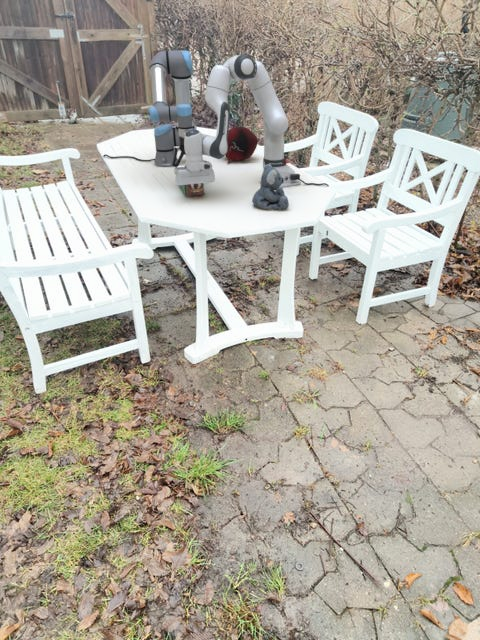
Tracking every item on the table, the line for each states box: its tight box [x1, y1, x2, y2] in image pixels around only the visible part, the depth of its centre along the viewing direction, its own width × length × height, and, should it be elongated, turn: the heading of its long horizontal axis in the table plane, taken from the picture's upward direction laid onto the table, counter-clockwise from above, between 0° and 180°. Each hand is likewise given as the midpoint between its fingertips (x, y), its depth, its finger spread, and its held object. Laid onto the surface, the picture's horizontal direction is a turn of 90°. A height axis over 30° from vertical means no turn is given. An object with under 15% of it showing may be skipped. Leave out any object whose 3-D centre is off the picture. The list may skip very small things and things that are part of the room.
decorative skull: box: [224, 126, 259, 165], centre depth 296 cm, size 21×24×25 cm
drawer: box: [186, 183, 205, 197], centre depth 243 cm, size 24×9×8 cm, turn 15°
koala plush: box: [251, 164, 290, 211], centre depth 224 cm, size 17×18×20 cm
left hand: (189, 177), depth 252 cm, fingers closed on cabinet, 10 cm apart
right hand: (196, 191), depth 236 cm, fingers closed, pressing on drawer
